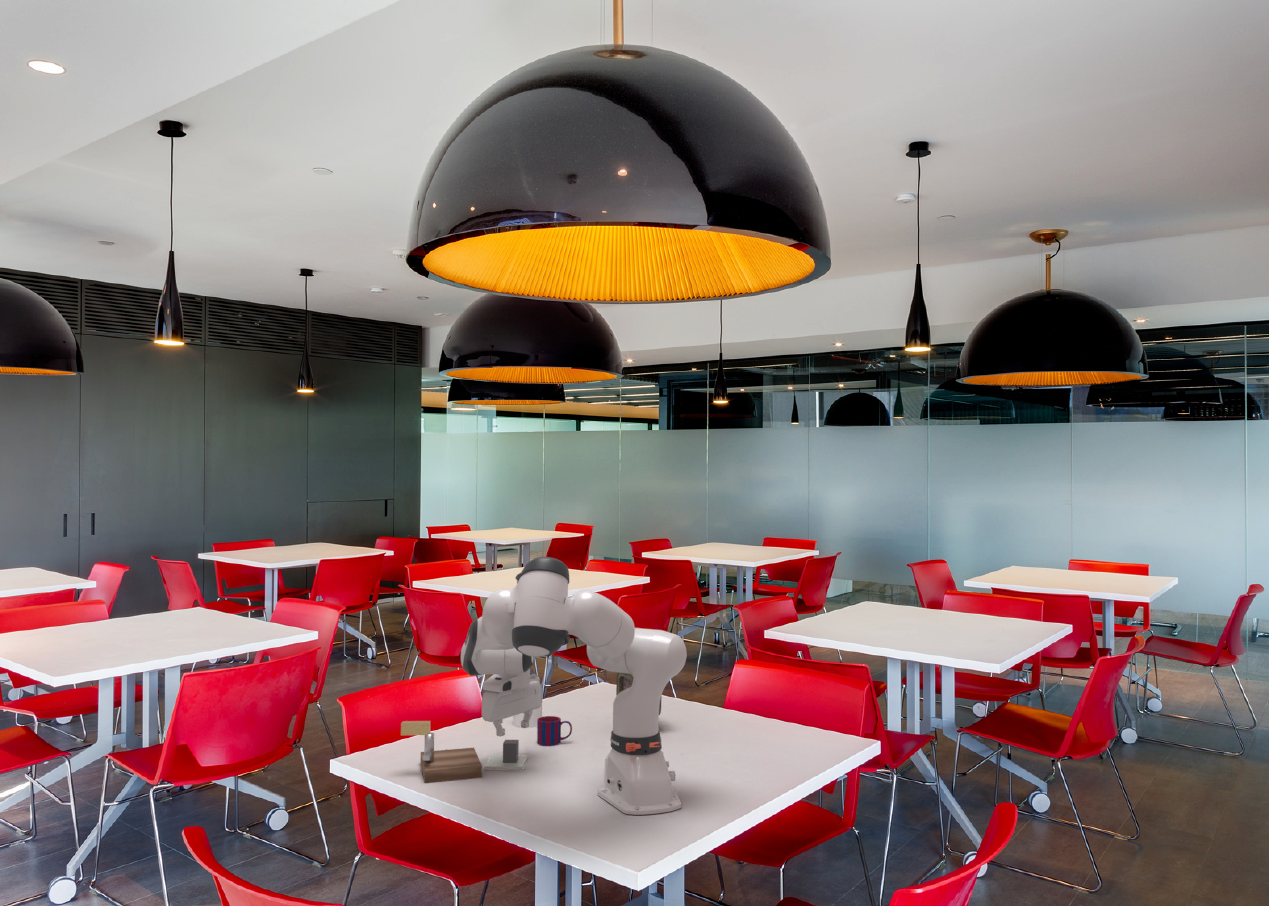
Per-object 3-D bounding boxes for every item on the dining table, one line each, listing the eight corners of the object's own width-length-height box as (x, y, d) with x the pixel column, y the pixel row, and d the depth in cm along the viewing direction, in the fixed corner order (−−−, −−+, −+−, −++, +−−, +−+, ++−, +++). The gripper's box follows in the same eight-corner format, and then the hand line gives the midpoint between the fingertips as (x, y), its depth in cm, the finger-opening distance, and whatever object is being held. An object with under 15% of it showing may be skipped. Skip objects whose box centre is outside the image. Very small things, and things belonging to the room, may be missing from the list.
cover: (523, 771, 220) (523, 747, 220) (484, 771, 220) (484, 746, 220) (528, 759, 230) (528, 736, 230) (491, 759, 230) (491, 736, 230)
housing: (481, 777, 214) (481, 765, 214) (424, 783, 210) (424, 770, 210) (473, 758, 229) (473, 747, 229) (420, 763, 225) (420, 752, 225)
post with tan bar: (397, 765, 212) (398, 726, 213) (402, 759, 218) (403, 721, 218) (431, 765, 213) (431, 726, 213) (434, 758, 218) (435, 720, 219)
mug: (541, 738, 248) (541, 715, 249) (574, 741, 246) (574, 717, 247) (534, 745, 242) (534, 721, 242) (567, 747, 240) (568, 723, 240)
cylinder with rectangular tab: (517, 719, 269) (517, 681, 270) (545, 720, 268) (545, 682, 269) (509, 727, 261) (509, 687, 261) (537, 728, 259) (538, 688, 260)
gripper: (530, 671, 237) (530, 721, 236) (477, 684, 220) (477, 738, 219) (547, 673, 233) (547, 724, 233) (495, 687, 217) (495, 742, 216)
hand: (513, 731), depth 226 cm, fingers open, 8 cm apart
